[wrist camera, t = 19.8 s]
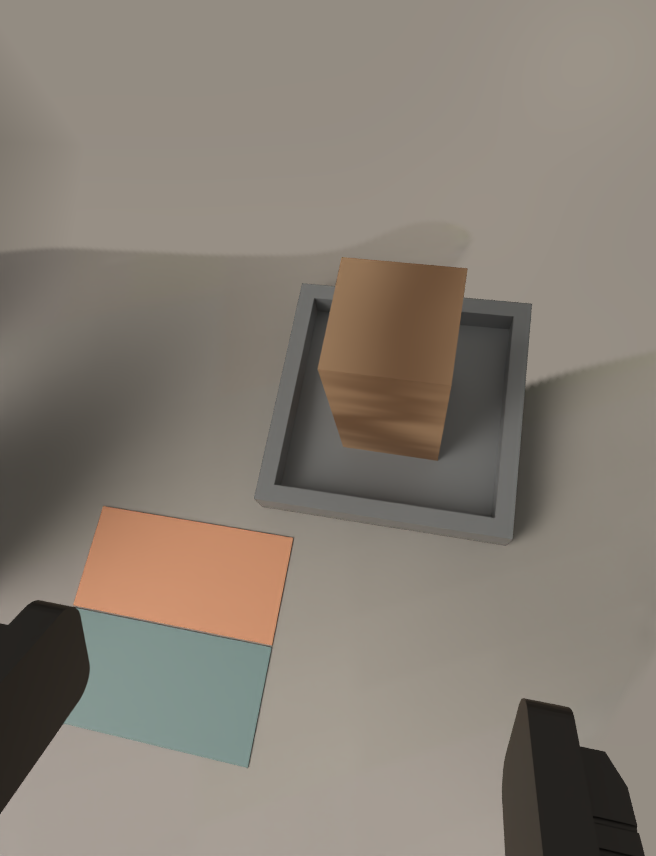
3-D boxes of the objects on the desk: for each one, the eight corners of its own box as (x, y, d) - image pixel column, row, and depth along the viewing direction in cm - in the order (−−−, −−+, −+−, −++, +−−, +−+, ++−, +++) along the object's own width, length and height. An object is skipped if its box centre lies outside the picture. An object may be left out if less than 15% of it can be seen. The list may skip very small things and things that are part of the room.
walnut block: (343, 446, 29) (317, 369, 20) (359, 362, 30) (341, 257, 22) (437, 460, 28) (451, 385, 20) (449, 373, 29) (467, 268, 21)
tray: (262, 506, 29) (253, 498, 27) (307, 301, 32) (302, 283, 31) (505, 545, 27) (512, 539, 25) (524, 322, 30) (531, 303, 29)
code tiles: (41, 716, 27) (39, 717, 27) (105, 506, 30) (103, 506, 30) (248, 766, 25) (247, 767, 25) (293, 538, 28) (293, 537, 28)
